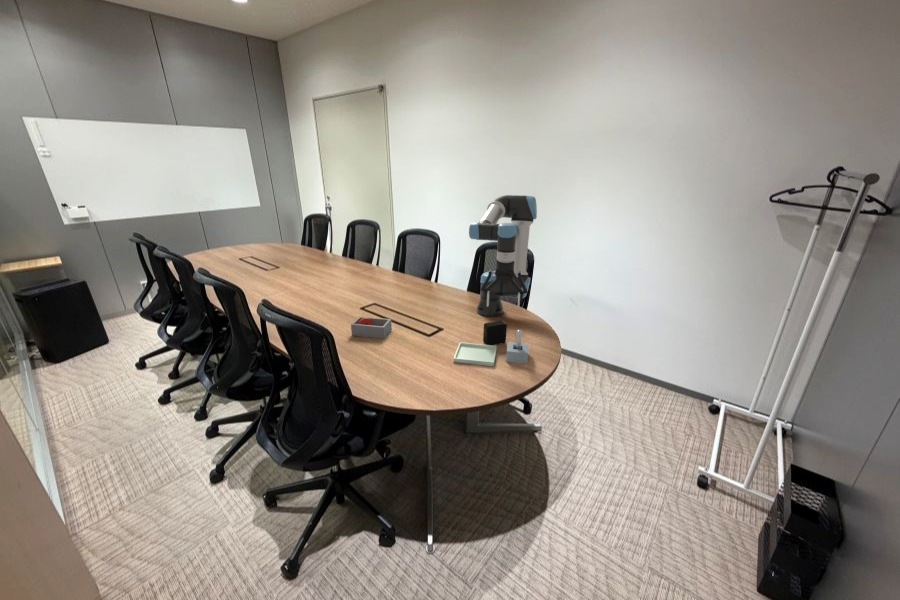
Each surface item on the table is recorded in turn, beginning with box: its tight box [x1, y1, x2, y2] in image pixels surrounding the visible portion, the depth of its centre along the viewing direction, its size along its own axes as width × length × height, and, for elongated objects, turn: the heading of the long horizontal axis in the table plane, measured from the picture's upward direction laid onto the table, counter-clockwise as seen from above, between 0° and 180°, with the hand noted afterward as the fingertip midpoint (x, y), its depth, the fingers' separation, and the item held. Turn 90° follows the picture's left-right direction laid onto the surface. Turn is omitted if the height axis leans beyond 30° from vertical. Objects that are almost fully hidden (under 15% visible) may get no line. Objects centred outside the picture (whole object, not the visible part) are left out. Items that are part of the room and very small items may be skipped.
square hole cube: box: [505, 341, 529, 364], centre depth 159 cm, size 9×9×5 cm
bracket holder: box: [350, 316, 393, 340], centre depth 181 cm, size 10×17×6 cm, turn 78°
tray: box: [452, 341, 498, 367], centre depth 161 cm, size 15×17×2 cm
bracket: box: [358, 318, 372, 325], centre depth 182 cm, size 12×4×8 cm, turn 121°
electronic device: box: [482, 320, 508, 346], centre depth 171 cm, size 4×10×10 cm, turn 111°
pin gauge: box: [515, 329, 523, 350], centre depth 157 cm, size 2×2×12 cm
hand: (502, 306), depth 163 cm, fingers open, 13 cm apart
